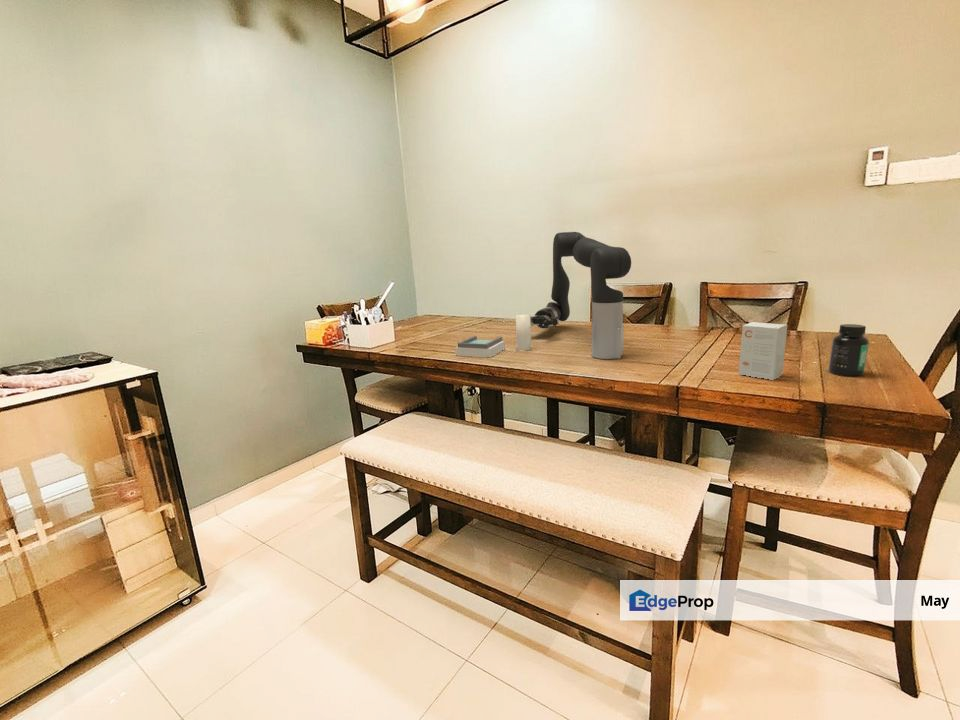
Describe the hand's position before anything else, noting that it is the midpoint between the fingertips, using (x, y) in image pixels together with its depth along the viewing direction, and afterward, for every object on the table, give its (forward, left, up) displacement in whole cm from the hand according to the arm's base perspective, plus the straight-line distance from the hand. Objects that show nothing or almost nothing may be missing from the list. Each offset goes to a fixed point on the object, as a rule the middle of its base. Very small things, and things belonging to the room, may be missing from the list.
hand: (533, 324), depth 163 cm
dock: (+13, +19, -7) cm, 24 cm away
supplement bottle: (-88, +20, -7) cm, 91 cm away
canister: (0, +11, -7) cm, 13 cm away
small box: (-69, +27, -7) cm, 74 cm away
